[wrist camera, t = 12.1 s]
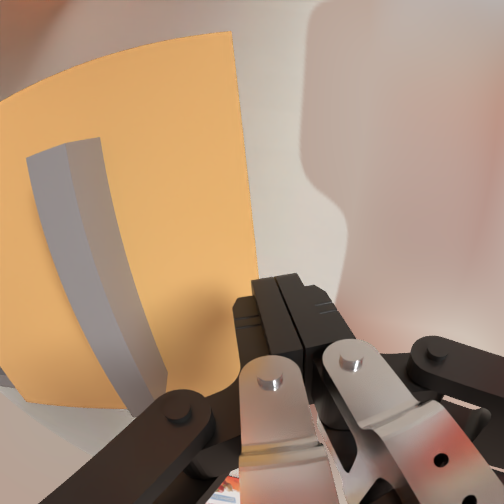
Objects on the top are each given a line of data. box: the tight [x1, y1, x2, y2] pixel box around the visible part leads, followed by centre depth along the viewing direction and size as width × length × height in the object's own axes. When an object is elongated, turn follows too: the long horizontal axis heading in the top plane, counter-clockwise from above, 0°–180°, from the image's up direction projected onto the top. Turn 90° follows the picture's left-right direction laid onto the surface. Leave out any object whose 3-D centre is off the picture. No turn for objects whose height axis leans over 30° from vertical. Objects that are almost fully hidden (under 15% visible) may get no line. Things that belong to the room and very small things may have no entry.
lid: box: [0, 31, 259, 417], centre depth 11 cm, size 18×18×4 cm
